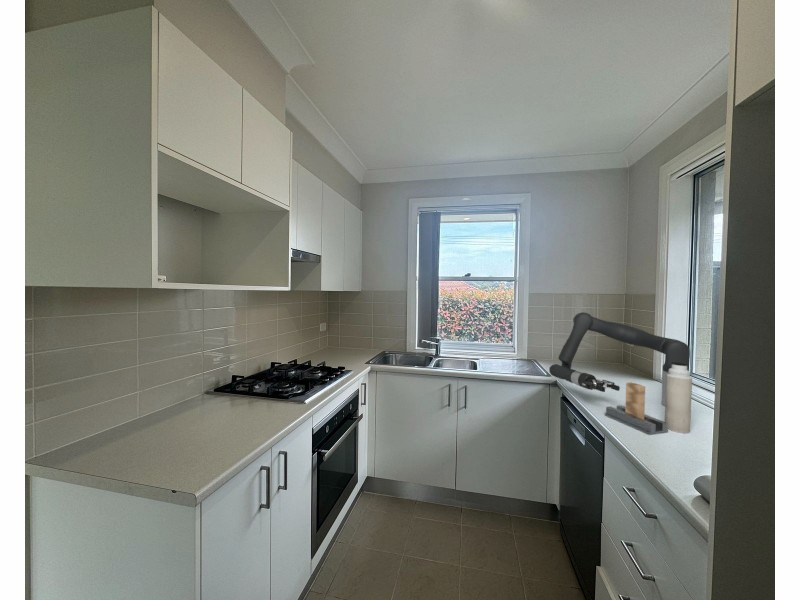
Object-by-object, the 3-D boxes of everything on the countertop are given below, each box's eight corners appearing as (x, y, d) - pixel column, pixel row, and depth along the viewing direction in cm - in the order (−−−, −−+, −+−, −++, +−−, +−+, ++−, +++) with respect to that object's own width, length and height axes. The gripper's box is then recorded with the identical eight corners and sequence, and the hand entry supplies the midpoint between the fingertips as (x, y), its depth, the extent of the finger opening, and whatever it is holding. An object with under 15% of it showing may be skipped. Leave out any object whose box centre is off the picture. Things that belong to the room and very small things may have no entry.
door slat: (625, 418, 138) (626, 382, 137) (630, 418, 139) (631, 382, 138) (638, 424, 132) (639, 386, 132) (644, 423, 133) (645, 386, 132)
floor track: (604, 415, 144) (604, 406, 144) (621, 413, 146) (621, 405, 146) (649, 435, 124) (649, 425, 124) (668, 432, 127) (668, 422, 127)
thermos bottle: (687, 427, 132) (689, 361, 131) (692, 435, 125) (695, 365, 124) (662, 423, 136) (665, 359, 135) (666, 430, 129) (668, 362, 128)
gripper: (572, 373, 159) (599, 382, 144) (594, 371, 163) (624, 380, 147) (571, 387, 160) (599, 398, 144) (594, 385, 163) (623, 396, 148)
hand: (611, 389), depth 146 cm, fingers open, 8 cm apart
